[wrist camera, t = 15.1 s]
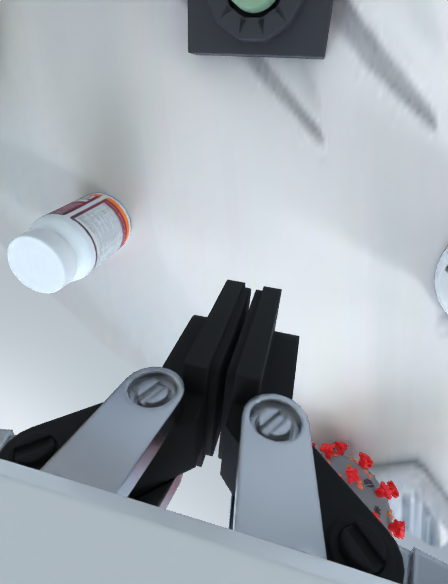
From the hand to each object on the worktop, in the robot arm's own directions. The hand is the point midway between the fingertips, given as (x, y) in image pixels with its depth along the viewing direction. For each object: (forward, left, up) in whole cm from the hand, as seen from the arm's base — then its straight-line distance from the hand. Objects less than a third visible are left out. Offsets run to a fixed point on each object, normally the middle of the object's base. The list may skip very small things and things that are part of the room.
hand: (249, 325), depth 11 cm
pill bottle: (+19, +7, -24) cm, 31 cm away
